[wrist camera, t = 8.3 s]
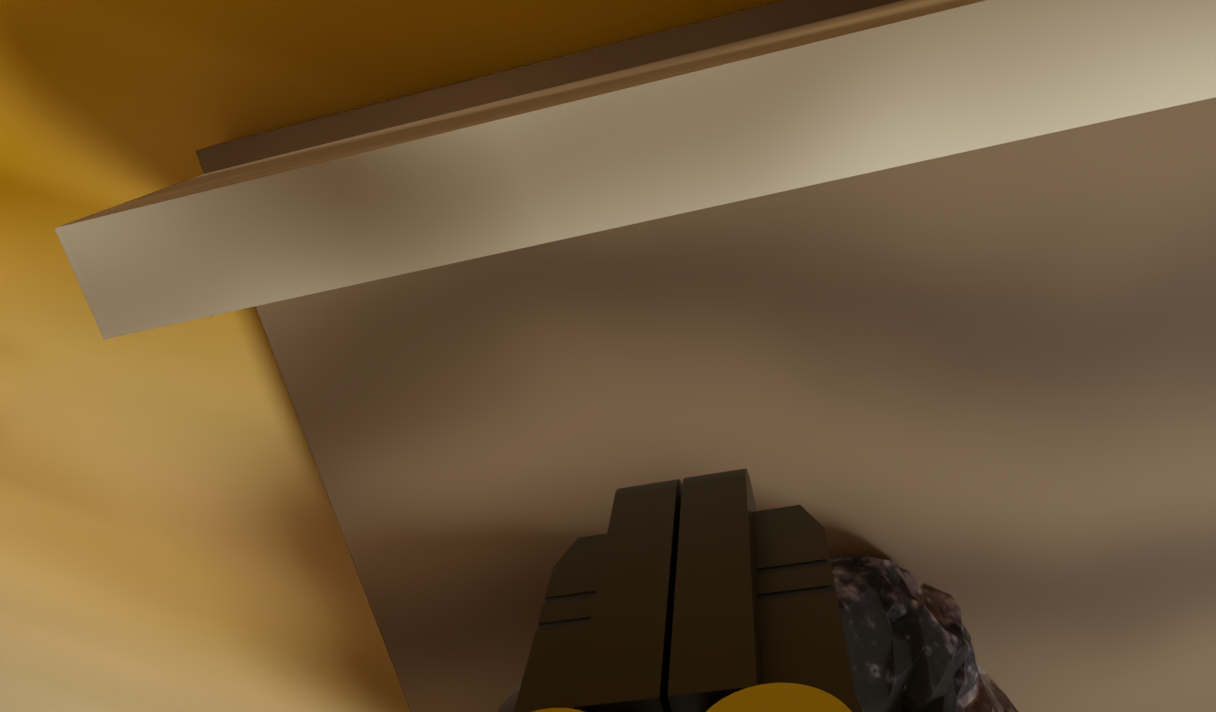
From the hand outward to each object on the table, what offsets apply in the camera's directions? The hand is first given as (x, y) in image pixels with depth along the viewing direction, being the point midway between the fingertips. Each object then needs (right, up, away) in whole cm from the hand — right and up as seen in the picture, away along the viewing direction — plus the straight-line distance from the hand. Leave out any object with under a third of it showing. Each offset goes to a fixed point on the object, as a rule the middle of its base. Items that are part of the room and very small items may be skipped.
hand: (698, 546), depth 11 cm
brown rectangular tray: (+3, -3, +13) cm, 13 cm away
